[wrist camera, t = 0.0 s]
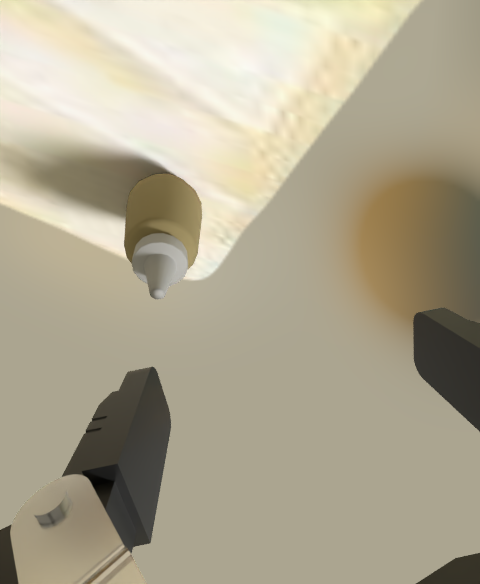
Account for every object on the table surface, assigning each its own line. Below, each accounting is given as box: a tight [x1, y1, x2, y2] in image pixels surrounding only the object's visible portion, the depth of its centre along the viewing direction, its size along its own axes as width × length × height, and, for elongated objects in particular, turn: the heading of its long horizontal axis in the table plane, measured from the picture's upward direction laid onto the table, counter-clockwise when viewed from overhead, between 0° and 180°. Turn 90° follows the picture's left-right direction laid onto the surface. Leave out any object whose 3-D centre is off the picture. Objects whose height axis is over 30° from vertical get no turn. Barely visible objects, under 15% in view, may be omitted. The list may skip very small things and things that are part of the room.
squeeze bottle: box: [124, 174, 202, 299], centre depth 31 cm, size 8×8×18 cm
